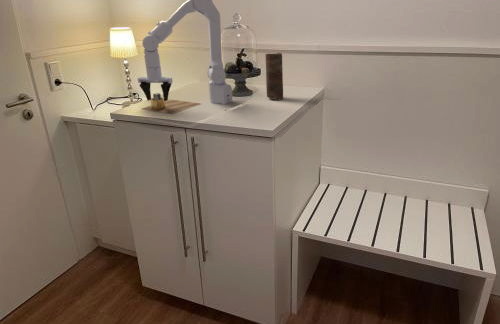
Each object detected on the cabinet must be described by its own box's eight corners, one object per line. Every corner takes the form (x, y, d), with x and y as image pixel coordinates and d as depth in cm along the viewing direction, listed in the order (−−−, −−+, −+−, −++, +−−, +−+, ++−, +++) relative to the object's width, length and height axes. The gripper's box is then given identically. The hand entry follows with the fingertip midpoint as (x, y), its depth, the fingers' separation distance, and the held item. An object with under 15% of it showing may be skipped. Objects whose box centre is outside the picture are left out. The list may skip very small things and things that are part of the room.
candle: (263, 100, 166) (263, 53, 159) (269, 96, 173) (268, 51, 165) (280, 101, 164) (280, 53, 156) (285, 97, 170) (285, 51, 162)
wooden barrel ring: (167, 106, 157) (166, 98, 156) (157, 109, 153) (156, 101, 152) (159, 104, 160) (158, 96, 159) (149, 107, 156) (148, 99, 155)
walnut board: (201, 105, 160) (201, 103, 160) (172, 116, 146) (172, 114, 146) (170, 101, 169) (170, 99, 169) (140, 111, 155) (140, 108, 155)
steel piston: (163, 106, 157) (162, 93, 155) (158, 108, 155) (156, 95, 153) (158, 105, 159) (156, 93, 157) (153, 107, 156) (151, 94, 154)
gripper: (174, 65, 152) (177, 98, 158) (142, 65, 156) (146, 97, 161) (166, 68, 146) (170, 102, 151) (133, 68, 149) (138, 101, 155)
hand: (157, 100), depth 156 cm, fingers open, 7 cm apart
